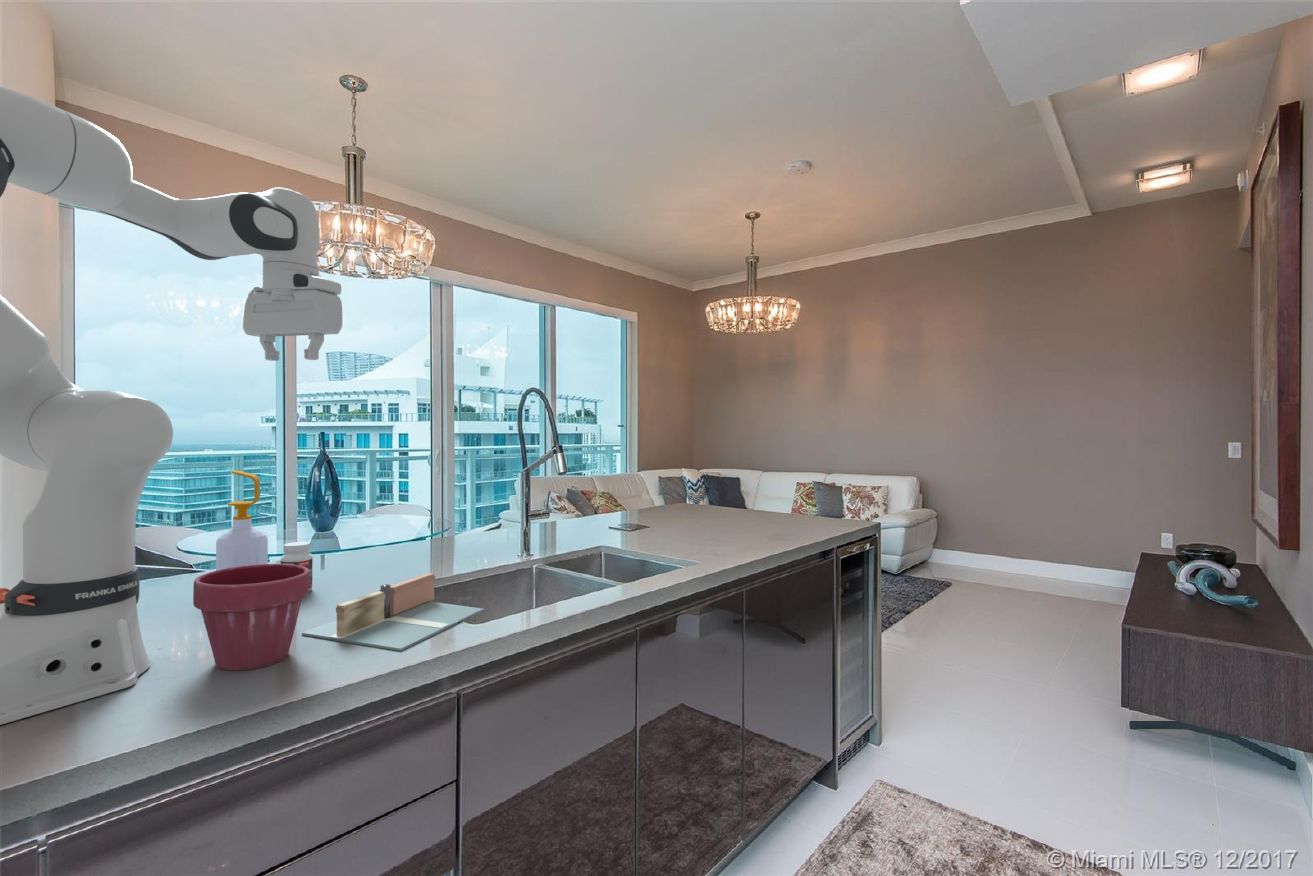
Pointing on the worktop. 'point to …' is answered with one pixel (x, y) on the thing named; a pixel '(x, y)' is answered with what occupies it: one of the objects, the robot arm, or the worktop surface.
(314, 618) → the worktop surface
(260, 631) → the plant pot
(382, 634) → the board
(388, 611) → the fence post
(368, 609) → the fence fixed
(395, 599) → the orange hinged panel
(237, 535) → the soap bottle
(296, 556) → the pill bottle
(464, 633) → the worktop surface
